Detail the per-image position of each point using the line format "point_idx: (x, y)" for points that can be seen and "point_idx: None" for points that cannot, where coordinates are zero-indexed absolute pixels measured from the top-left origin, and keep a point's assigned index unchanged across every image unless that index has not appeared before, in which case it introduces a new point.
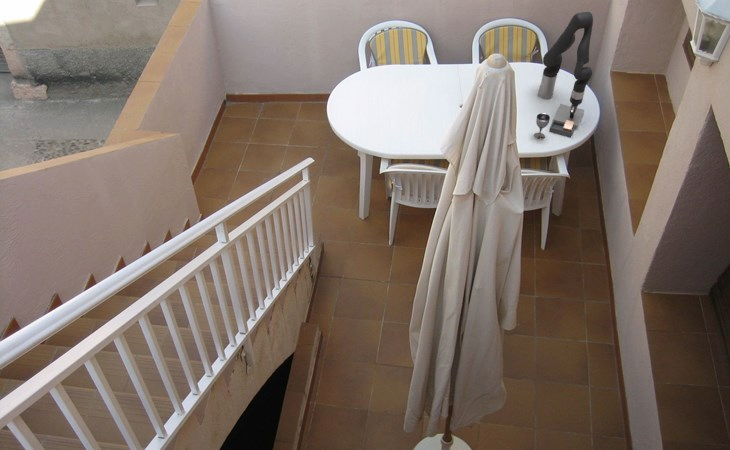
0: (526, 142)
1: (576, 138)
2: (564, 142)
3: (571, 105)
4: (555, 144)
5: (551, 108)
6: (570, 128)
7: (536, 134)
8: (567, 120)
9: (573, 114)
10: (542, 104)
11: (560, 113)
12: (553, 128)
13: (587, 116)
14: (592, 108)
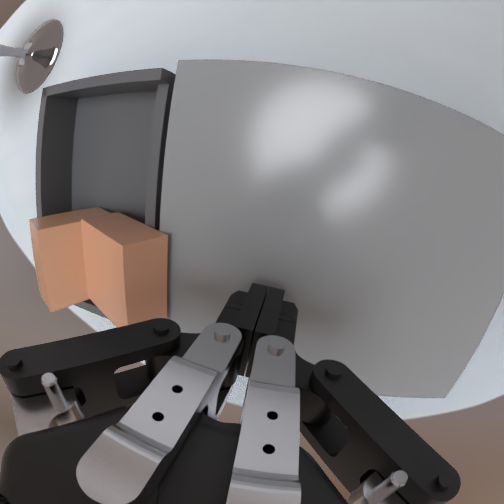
0: (4, 32)
1: (86, 312)
2: (28, 232)
3: (78, 477)
4: (4, 180)
5: (475, 67)
6: (41, 289)
7: (39, 34)
8: (118, 260)
9: (125, 377)
10: (489, 4)
11: (360, 141)
12: (41, 122)
13: (392, 397)
14: (473, 405)
